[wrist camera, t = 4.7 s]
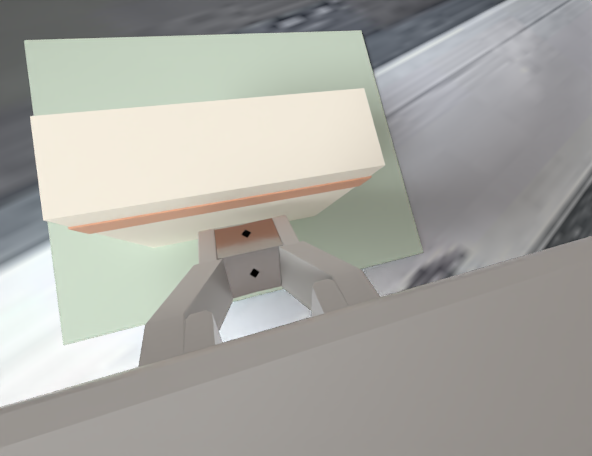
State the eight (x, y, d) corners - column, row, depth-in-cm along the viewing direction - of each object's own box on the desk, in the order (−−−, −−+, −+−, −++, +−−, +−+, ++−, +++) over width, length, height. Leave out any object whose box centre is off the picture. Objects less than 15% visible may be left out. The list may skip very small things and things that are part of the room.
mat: (68, 343, 13) (63, 345, 12) (29, 46, 15) (23, 40, 14) (419, 253, 17) (423, 252, 17) (358, 35, 19) (361, 30, 19)
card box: (152, 249, 14) (40, 222, 6) (144, 199, 14) (27, 114, 6) (316, 216, 16) (387, 166, 8) (305, 173, 16) (365, 86, 8)
